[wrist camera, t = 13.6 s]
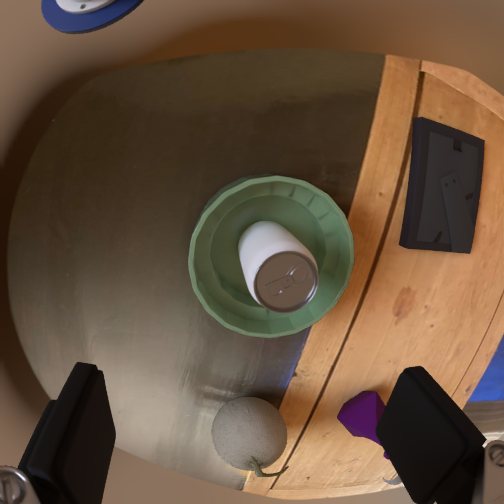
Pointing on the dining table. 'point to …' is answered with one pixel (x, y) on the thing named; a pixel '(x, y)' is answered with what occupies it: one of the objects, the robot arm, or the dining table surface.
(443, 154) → the picture frame
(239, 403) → the fruit
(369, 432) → the purple potion bottle
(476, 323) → the dining table surface
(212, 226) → the green faceted bowl
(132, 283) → the dining table surface
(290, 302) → the can
